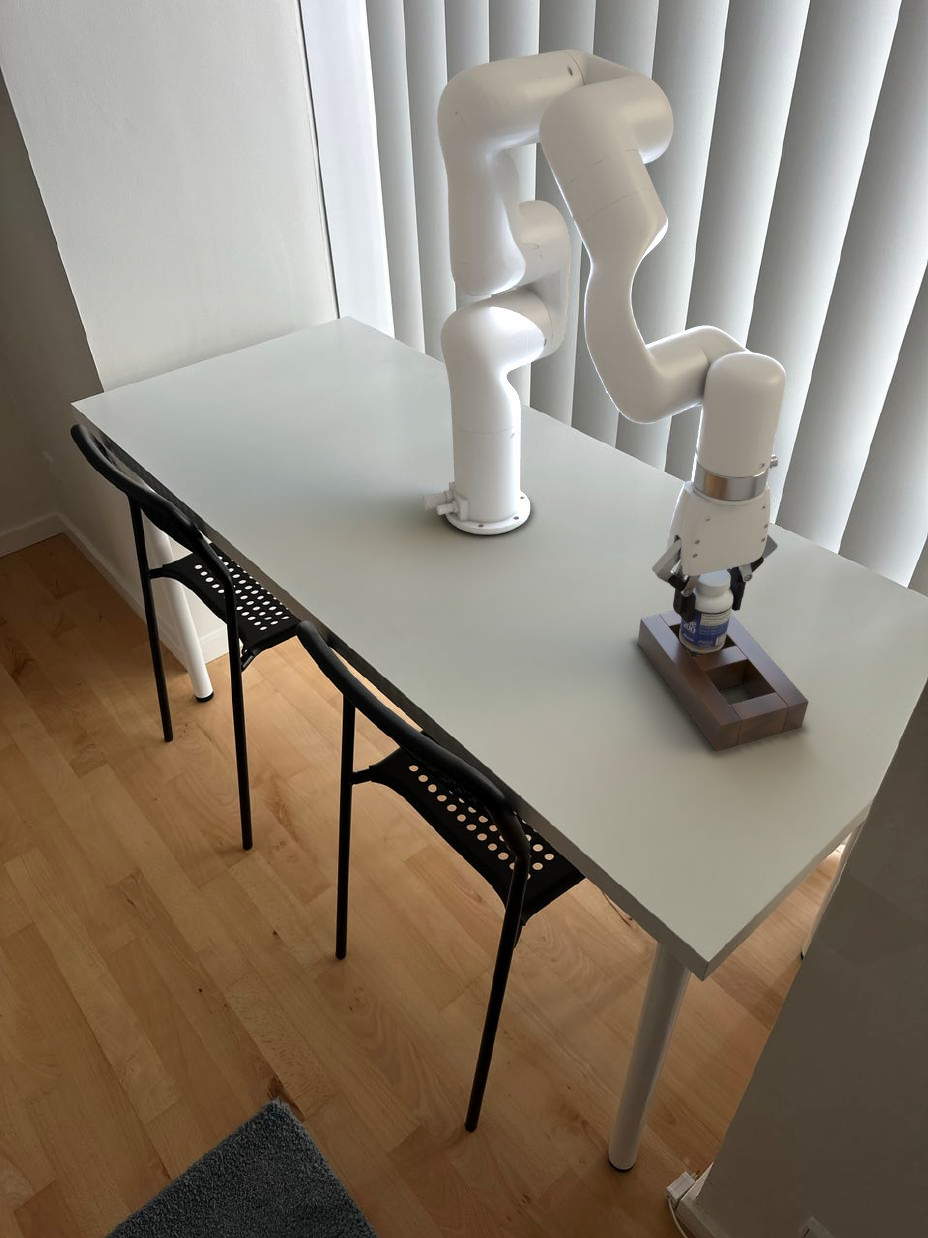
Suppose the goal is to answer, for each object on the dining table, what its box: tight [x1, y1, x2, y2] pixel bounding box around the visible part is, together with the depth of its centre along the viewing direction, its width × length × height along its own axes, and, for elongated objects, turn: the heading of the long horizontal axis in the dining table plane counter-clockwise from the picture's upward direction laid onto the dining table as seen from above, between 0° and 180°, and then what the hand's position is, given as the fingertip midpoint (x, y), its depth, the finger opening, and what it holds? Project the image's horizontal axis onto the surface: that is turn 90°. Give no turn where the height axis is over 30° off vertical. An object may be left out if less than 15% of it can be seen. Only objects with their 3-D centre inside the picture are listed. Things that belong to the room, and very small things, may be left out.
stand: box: [637, 610, 809, 752], centre depth 110 cm, size 11×19×4 cm, turn 18°
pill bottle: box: [679, 569, 733, 655], centre depth 110 cm, size 5×5×10 cm
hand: (706, 608), depth 110 cm, fingers closed on pill bottle, 5 cm apart
